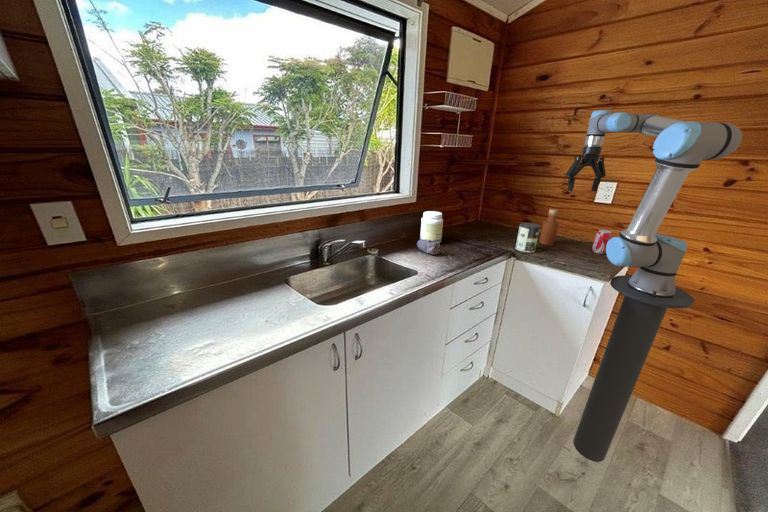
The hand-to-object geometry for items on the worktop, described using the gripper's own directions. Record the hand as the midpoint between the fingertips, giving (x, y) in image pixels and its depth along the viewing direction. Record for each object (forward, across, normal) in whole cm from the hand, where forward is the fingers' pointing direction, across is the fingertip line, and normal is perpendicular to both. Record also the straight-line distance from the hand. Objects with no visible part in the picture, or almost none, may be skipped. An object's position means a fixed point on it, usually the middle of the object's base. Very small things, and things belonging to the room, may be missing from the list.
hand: (581, 190), depth 153 cm
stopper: (+20, +1, -16) cm, 25 cm away
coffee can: (+33, +21, -6) cm, 39 cm away
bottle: (+33, +1, -16) cm, 36 cm away
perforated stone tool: (+33, +77, -6) cm, 84 cm away
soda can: (+33, -18, +2) cm, 38 cm away
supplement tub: (+33, +70, -23) cm, 80 cm away
